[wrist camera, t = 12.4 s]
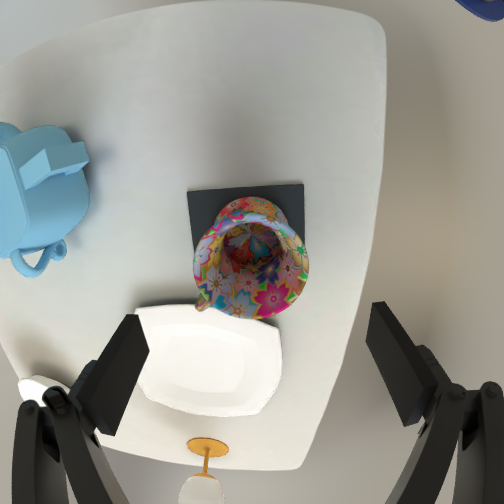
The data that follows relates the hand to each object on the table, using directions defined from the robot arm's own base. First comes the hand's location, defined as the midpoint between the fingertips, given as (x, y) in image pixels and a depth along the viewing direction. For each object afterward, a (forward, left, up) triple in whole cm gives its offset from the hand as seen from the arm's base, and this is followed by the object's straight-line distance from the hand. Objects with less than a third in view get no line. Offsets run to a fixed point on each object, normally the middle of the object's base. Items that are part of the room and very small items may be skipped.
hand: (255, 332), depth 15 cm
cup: (+13, +47, -19) cm, 52 cm away
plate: (+9, +20, -19) cm, 29 cm away
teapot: (+27, -10, -19) cm, 34 cm away
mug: (+1, +1, -19) cm, 19 cm away
